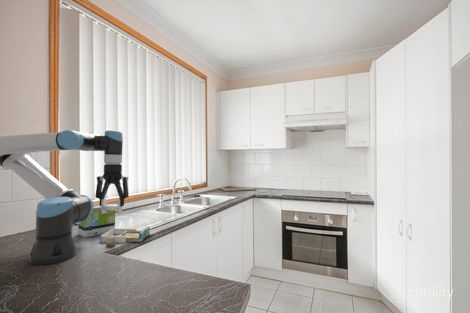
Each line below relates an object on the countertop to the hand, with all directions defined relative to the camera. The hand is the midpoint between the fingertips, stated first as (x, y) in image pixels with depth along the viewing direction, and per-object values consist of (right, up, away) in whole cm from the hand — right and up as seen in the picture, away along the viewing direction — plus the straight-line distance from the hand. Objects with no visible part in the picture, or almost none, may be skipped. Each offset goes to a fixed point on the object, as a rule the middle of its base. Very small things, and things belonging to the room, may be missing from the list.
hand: (111, 213), depth 111 cm
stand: (0, -15, 0) cm, 15 cm away
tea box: (-18, -15, +18) cm, 30 cm away
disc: (0, +2, 0) cm, 2 cm away
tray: (+5, -15, +11) cm, 19 cm away
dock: (-1, -15, +11) cm, 19 cm away
